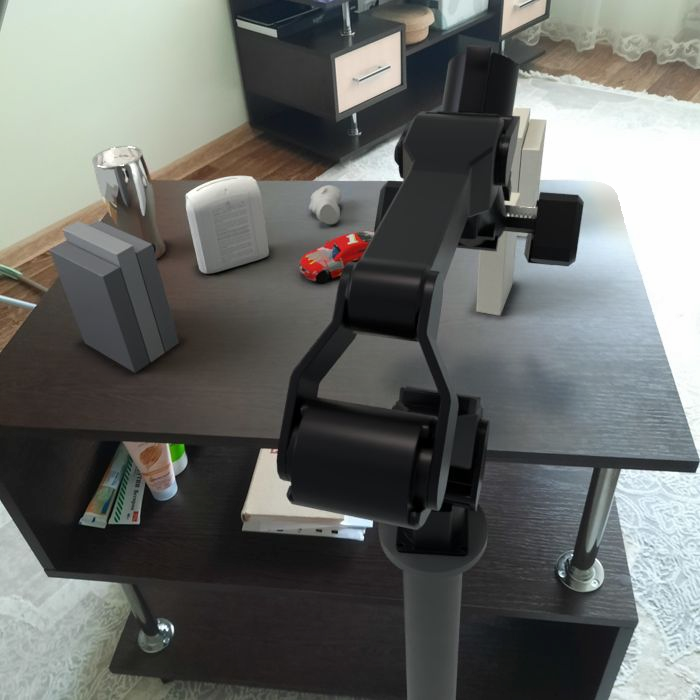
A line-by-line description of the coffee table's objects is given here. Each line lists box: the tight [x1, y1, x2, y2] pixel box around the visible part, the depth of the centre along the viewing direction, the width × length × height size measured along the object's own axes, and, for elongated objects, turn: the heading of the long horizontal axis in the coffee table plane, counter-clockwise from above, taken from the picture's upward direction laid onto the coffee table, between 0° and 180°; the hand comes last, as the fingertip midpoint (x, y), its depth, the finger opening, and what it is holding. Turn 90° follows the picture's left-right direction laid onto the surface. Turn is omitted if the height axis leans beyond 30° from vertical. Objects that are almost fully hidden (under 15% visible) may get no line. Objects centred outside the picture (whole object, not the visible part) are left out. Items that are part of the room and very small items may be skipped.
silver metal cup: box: [91, 145, 167, 260], centre depth 101 cm, size 7×7×15 cm
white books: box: [511, 107, 547, 238], centre depth 102 cm, size 10×7×14 cm
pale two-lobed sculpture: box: [308, 184, 342, 226], centre depth 110 cm, size 4×8×5 cm
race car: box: [298, 230, 374, 284], centre depth 98 cm, size 13×5×4 cm, turn 111°
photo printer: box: [185, 175, 270, 275], centre depth 99 cm, size 10×4×12 cm, turn 117°
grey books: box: [49, 219, 180, 374], centre depth 85 cm, size 10×7×15 cm
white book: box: [475, 192, 521, 317], centre depth 88 cm, size 7×3×13 cm, turn 158°
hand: (482, 244), depth 76 cm, fingers open, 9 cm apart
